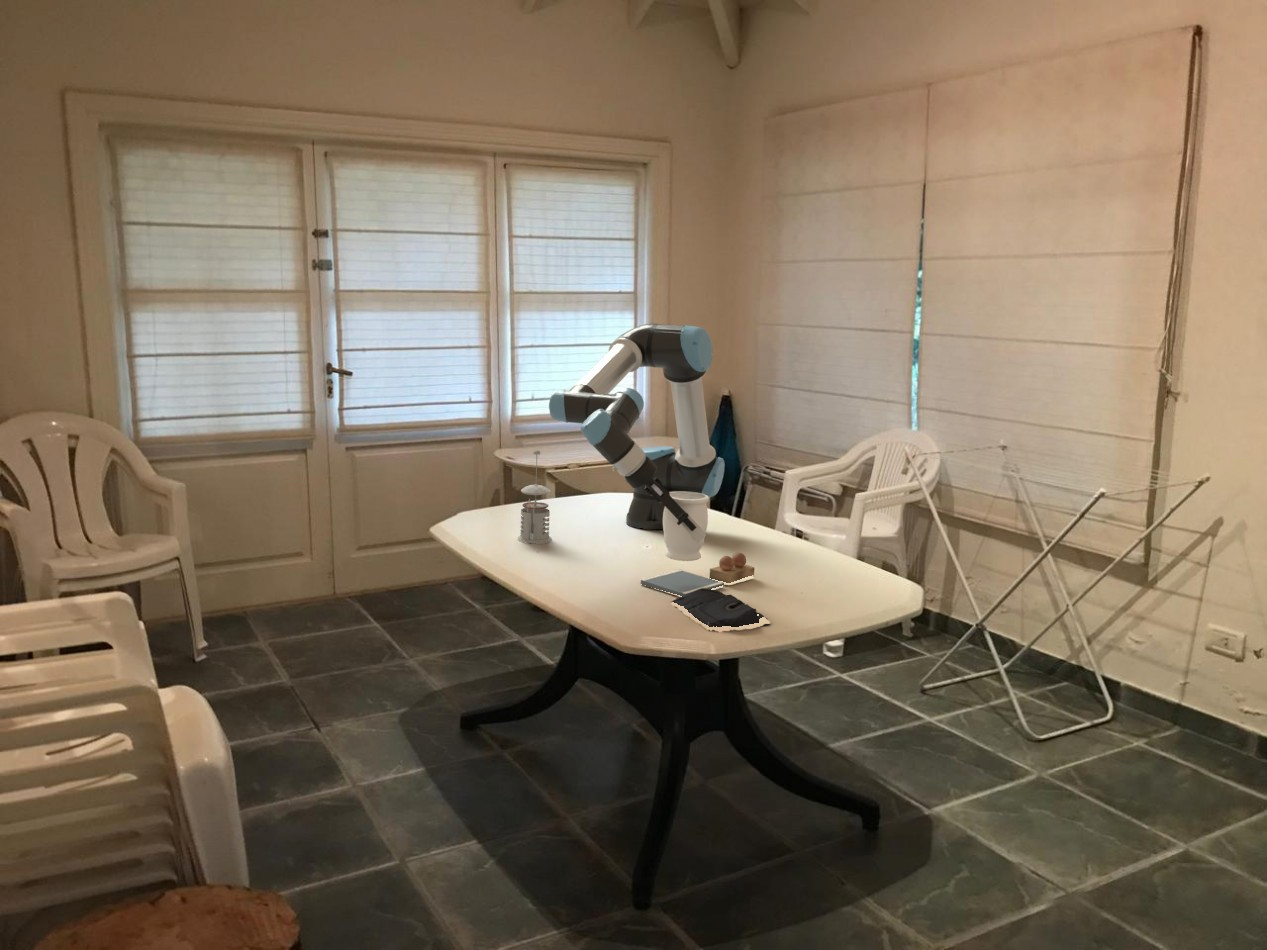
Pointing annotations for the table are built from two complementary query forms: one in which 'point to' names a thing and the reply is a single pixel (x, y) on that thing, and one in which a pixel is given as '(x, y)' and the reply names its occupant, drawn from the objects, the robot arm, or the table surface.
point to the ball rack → (732, 569)
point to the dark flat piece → (718, 608)
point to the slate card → (680, 582)
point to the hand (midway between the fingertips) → (696, 532)
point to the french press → (535, 515)
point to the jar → (676, 535)
